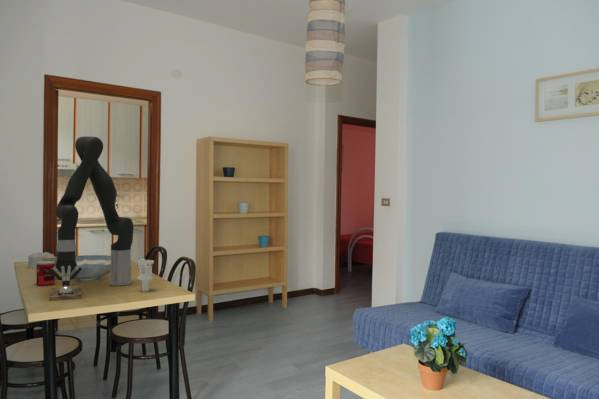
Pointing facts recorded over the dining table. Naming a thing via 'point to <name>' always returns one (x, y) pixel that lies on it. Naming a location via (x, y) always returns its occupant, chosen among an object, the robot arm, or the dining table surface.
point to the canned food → (45, 273)
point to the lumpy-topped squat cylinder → (36, 259)
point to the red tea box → (50, 259)
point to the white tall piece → (145, 273)
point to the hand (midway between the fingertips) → (65, 289)
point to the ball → (65, 290)
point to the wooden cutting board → (74, 295)
